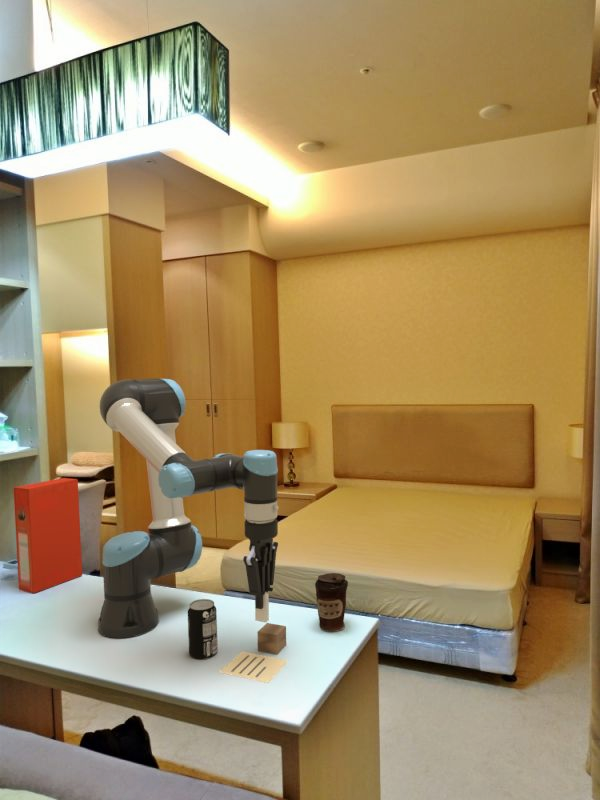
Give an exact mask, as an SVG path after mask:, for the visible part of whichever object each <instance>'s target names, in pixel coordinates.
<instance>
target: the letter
mask: <svg viewBox="0 0 600 800" xmlns="http://www.w3.org/2000/svg"><path fill="white" fill-rule="evenodd" d="M288 661H289V660H287V659H282V658H278V657H272V656H269V655H264V654H263V655H262V654H257V653H253V652H247V651H243V650H242V651H240V653H238V654H237V655H236V656H235V657H234V658H233V659H232V660H230V662H229V663H227V664H226V665H225V666H224V667H223V668H222V669H221V670H220V671H219V673H221V674H226V675H231V676H234V677H240V678H244V679H248V680H253V681H257V682H261V683H266V684H269V683H270V682H271V681H272V680H273V679H274V677H275V676H276V675H277V674H278V673H279V672H280V671H281V669H282V668H283V667H284V666H286V664H287V663H288Z"/></svg>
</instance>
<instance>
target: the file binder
mask: <svg viewBox="0 0 600 800" xmlns="http://www.w3.org/2000/svg"><path fill="white" fill-rule="evenodd" d="M79 495H80V494H79V480H78V478H68V477H63V478H62V477H60V478H55V479H50V480H46V481H41V482H36V483H30V484H26V485H21V486H20V485H19V486H14V487H13V504H14V521H15V525H14V526H15V539H16V560H17V562H16V563H17V577H18V578H17V579H18V581H17V582H18V589H19V590H20V591H23V592H27V593H29V594H30V593H31V594H35V593H39V592H40V591H44V590H46V589H49V588H52V587H54V586H56V585H60V584H62V583H65V582H68V581H71V580H73V579H76V578H78V577H81V576H83V562H82V561H83V559H82V541H81V539H82V538H81V537H82V536H81V522H80V521H81V520H80V517H81V516H80V502H79V501H80V500H79V498H80V497H79Z"/></svg>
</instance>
